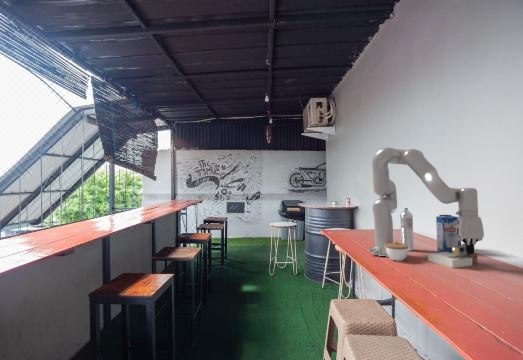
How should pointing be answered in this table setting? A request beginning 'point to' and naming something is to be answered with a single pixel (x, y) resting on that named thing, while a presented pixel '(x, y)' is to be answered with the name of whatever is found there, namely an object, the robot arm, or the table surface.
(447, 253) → the door panel
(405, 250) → the lidded jar
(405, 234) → the water bottle
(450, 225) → the milk carton
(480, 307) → the table surface
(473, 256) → the jamb block
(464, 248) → the latch bar
